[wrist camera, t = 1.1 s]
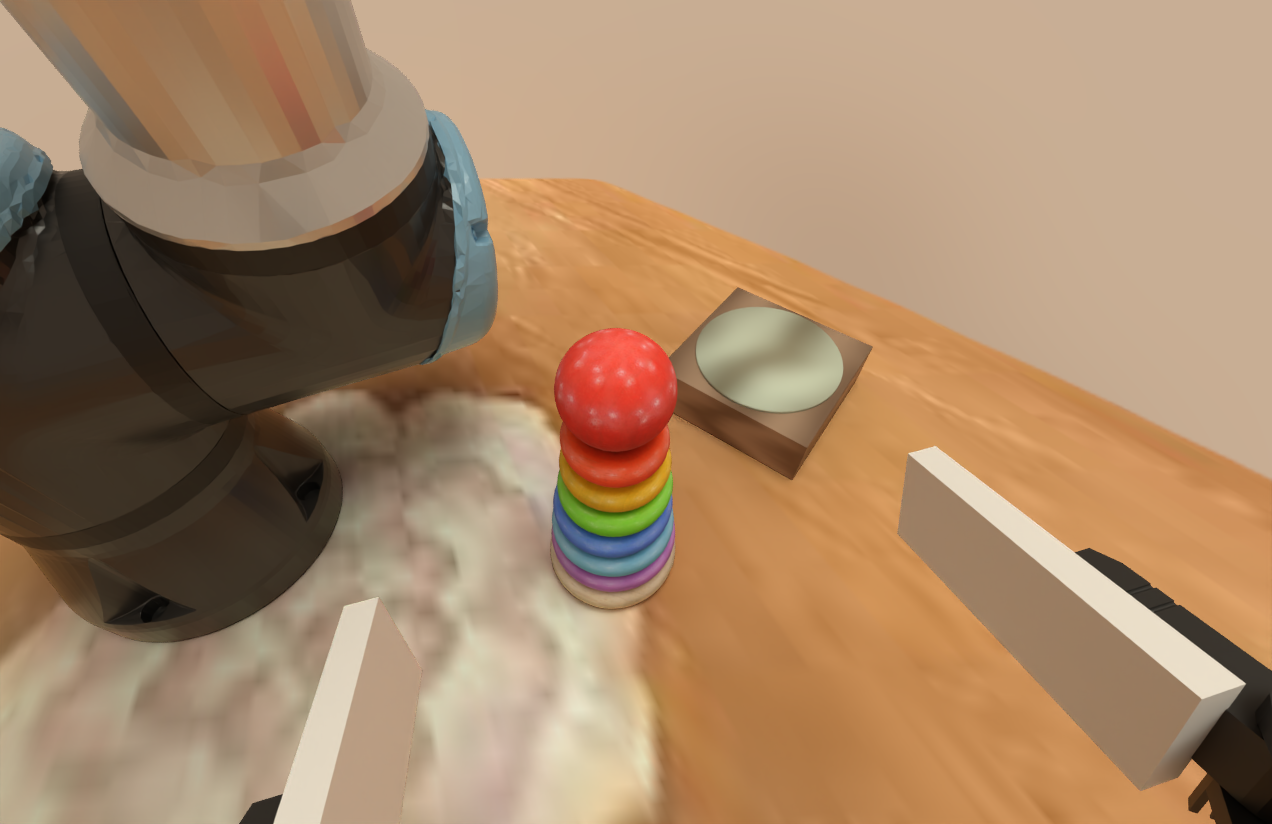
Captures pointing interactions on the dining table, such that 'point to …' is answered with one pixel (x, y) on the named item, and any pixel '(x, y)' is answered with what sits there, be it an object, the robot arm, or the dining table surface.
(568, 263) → the dining table surface
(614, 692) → the dining table surface
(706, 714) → the dining table surface
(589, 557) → the stacking toy
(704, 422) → the walnut plinth
